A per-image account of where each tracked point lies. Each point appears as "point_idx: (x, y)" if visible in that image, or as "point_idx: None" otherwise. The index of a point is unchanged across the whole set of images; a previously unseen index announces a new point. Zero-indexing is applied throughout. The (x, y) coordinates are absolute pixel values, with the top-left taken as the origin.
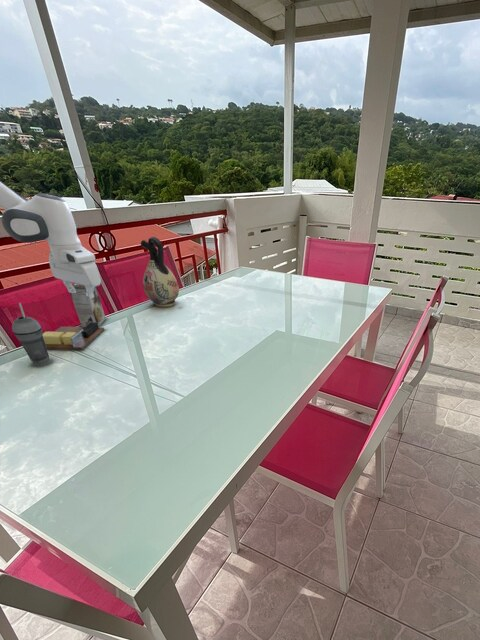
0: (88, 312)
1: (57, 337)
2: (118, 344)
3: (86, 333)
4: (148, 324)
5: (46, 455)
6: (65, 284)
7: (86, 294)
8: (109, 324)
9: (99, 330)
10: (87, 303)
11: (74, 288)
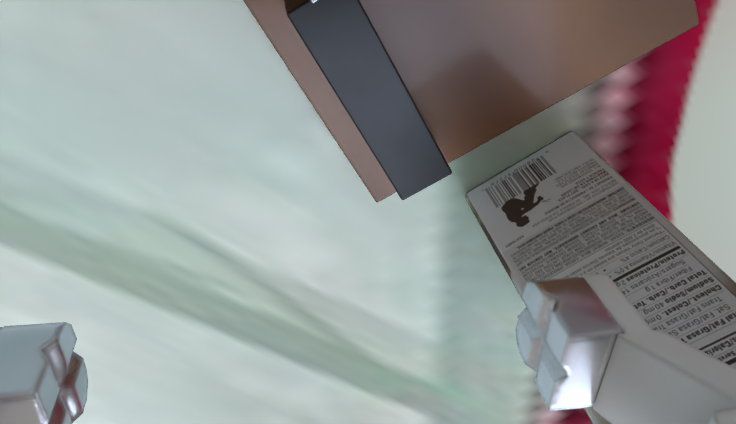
0: (542, 247)
1: None
2: (3, 85)
3: (288, 6)
4: (210, 400)
5: None
6: (710, 380)
7: (24, 370)
8: (434, 266)
9: (350, 151)
10: None
11: (543, 390)
